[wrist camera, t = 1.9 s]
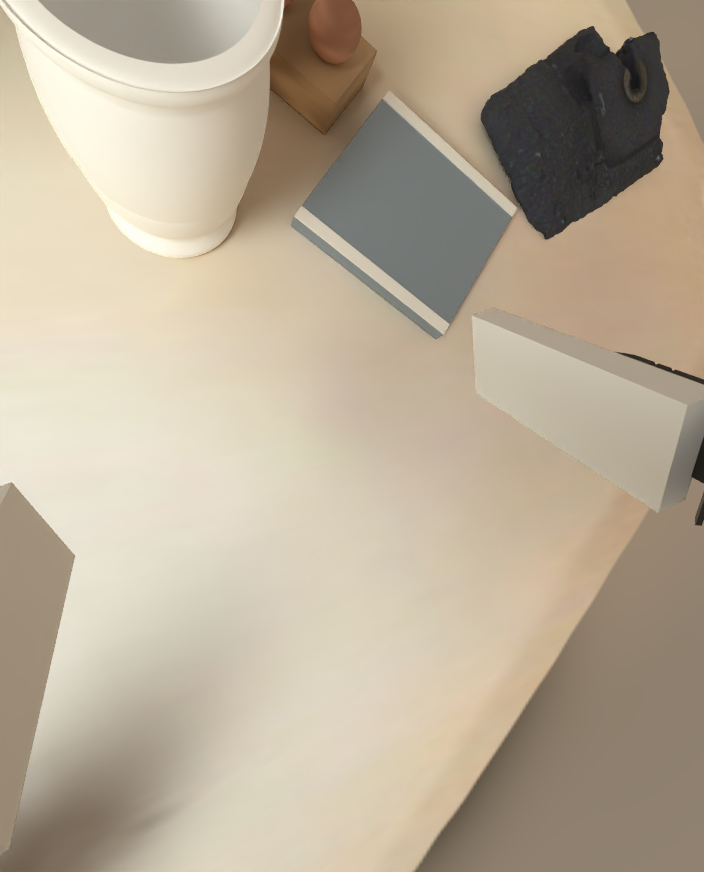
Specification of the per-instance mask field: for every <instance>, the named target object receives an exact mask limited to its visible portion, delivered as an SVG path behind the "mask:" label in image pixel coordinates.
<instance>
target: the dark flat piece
mask: <svg viewBox="0 0 704 872" xmlns="http://www.w3.org/2000/svg"><path fill="white" fill-rule="evenodd" d="M659 47H660V44H659V40H658V38H657V36H656V34H655V33H654V32H650V33H647V34H645V35H643V36H639V37H637V38H632V37H630V39H627V40H626V41H625V42H624V44H623V46H622V48H621V49H620V50H618V51H617V53H616V54H615V53H613V52H610V51H609V50H610V48H609V47H608V46H606V45H605V44H604V42H603V39H602V38H601V37H600V35H599V34H598V33H597V32H596V30H595V28H594V26H591V27H589V28H587V29H583V30H581V31H579V32H578V33H577V35H575V36H573V38H571V39H569V40H567V41H566V42H565V43H564V44H563V45H561V46H560V47H559V48H558V49H557V50H555V51H554V52H553V53H552V54H551V55H549V56H548V57H547V59H545V60H543V61H542V60H539V61H538V63H537V64H534V65H532V66H530V67H529V68H527V69H526V71H525V72H524V73H523V74H522V75H521V76H519V77H518V78H517V79H516V80H515V81H514V82H512V83H510V84H509V85H508V86H507V87H506V88H505V89H503V90H501V91H499V92H497V93H495V94H493V95H492V96H491V97H490V99H489V100H487V102H486V104H485V106H484V108H483V110H482V113H481V121H482V123H483V124H484V126H485V128H486V130H487V132H488V135H489V137H490V139H491V141H492V144H493V147H494V149H495V151H496V153H497V154H498V156H499V160H500V161H501V163H502V166H503V167H504V169H505V171H506V172H507V174H508V175H509V178H510V180H511V184H512V190H513V192H514V194H515V196H516V198H517V200H518V201H519V202H520V205H521V207H522V209H523V210H524V212H525V214H526V217H527V219H528V221H529V222H530V223H531V224H533V226H534V227H535V229H536V230H537V231H539V232H541V233H543V234H544V237H545V239H549V238H551V237H553V236H554V235H556V234H558V233H560V232H562V231H563V230H564V229H565V228H566V227H567V226H568V225H569V224H570V223H572V222H576V221H578V220H579V219H580V218H583V217H585V216H586V215H587V214H588V213H590V212H593V211H594V210H596V209H597V208H599V207H601V206H603V204H605V203H607V202H608V201H609V200H610V199H612V197H613V196H617V195H618V194H619V193H620V192H622V191H624V190H625V189H626V188H627V187H628V186H630V185H632V184H633V183H634V182H636V181H637V180H638V179H640V178H642V177H643V176H644V175H646V174H648V173H650V172H651V171H652V170H653V169H654V168H656V167H658V166H659V164H660V163H661V161H662V160H663V155H662V154H661V152H662V147H663V142H662V141H661V139H660V137H659V136H660V127H661V120H662V115H663V114H664V112H665V111H666V104H667V99H668V95H669V86H668V81H667V79H666V74H665V72H664V70H663V64H662V62H661V55H660V49H659Z"/></svg>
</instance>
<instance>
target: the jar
mask: <svg viewBox="0 0 704 872" xmlns="http://www.w3.org/2000/svg"><path fill="white" fill-rule="evenodd" d="M0 5H1V7H2V8H3V10H4V11H5V12H6V14H7V15H8V17H9V18H10V19H11V21H12V22H13V23H14V24H15V28H16V32H17V36H18V40H19V43H20V47H21V50H22V54H23V57H24V60H25V63H26V67H27V70H28V72H29V75H30V78H31V81H32V83H33V86H34V89H35V91H36V94H37V96H38V98H39V101H40V103H41V105H42V107H43V109H44V112H45V114H46V116H47V118H48V120H49V122H50V123H51V125H52V127H53V129H54V131H55V133H56V134H57V136H58V138H59V139H60V141H61V143H62V144H63V146H64V147H65V149H66V150H67V152H68V153H69V155H70V156H71V158H72V159H73V160H74V162H75V163H76V164H77V166H78V167H79V168H80V169H81V171H82V172H83V174H84V176H85V177H86V179H87V180H88V182H89V183H90V185H91V186H92V187H93V189H94V190H95V191H96V193H97V194H98V195H99V196H100V198H101V199H102V200H103V201H104V202H105V204H106V207H107V210H108V212H109V214H110V216H111V218H112V220H113V221H114V223H115V224H116V225H117V227H118V228H119V229H120V230H121V232H122V233H123V234H124V235H125V236H126V237H128V238H129V239H130V240H131V241H132V242H134V243H135V244H137V245H138V246H140V247H142V248H143V249H145V250H147V251H150V252H152V253H155V254H158V255H161V256H166V257H172V258H189V257H195V256H199V255H202V254H204V253H207V252H209V251H211V250H212V249H214V248H215V247H217V246H218V245H219V244H220V243H222V242H223V241H224V239H225V238H226V237H227V236H228V234H229V233H230V231H231V229H232V227H233V224H234V222H235V218H236V212H237V206H238V204H239V202H240V200H241V199H242V196H243V194H244V192H245V190H246V187H247V184H248V182H249V179H250V177H251V175H252V173H253V170H254V168H255V165H256V163H257V160H258V157H259V154H260V151H261V147H262V143H263V139H264V135H265V130H266V124H267V117H268V108H269V94H270V58H271V56H272V54H273V52H274V50H275V48H276V45H277V42H278V39H279V35H280V31H281V26H282V19H283V9H284V0H0Z"/></svg>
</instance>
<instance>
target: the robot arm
mask: <svg viewBox="0 0 704 872" xmlns="http://www.w3.org/2000/svg"><path fill="white" fill-rule="evenodd" d="M472 329H473V349H474V369H475V388H476V394H477V395H479V396H480V397H482V398H483V399H485V400H486V401H488V402H490V403H491V404H493V405H494V406H496V407H497V408H499V409H500V410H502V411H503V412H505V413H506V414H508V415H509V416H511V417H512V418H514V419H515V420H517V421H518V422H520V423H522V424H523V425H525V426H526V427H528V428H529V429H531V430H532V431H534V432H535V433H537V434H538V435H540V436H541V437H543V438H544V439H546V440H547V441H549V442H550V443H552V444H553V445H555V446H557V447H558V448H560V449H561V450H563V451H564V452H566V453H567V454H569V455H570V456H572V457H573V458H575V459H576V460H578V461H579V462H581V463H582V464H584V465H585V466H587V467H589V468H590V469H592V470H593V471H595V472H596V473H598V474H599V475H601V476H602V477H604V478H605V479H607V480H608V481H610V482H611V483H613V484H614V485H616V486H617V487H619V488H620V489H622V490H624V491H625V492H627V493H628V494H630V495H631V496H633V497H634V498H636V499H637V500H639V501H640V502H642V503H643V504H645V505H646V506H648V507H649V508H651V509H653V510H654V511H655V512H657V513H660V512H662V511H664V510H666V509H667V508H669V507H671V506H673V505H675V504H677V503H679V502H681V501H683V500H685V498H686V495H687V492H688V489H689V486H690V482H691V479H692V477H693V478H695V479H696V480H699V481H700V482H702V483H704V380H703V379H700V378H698V377H695V376H692V375H689V374H686V373H684V372H681V371H678V370H674V371H673V370H672V369H671V368H670V367H667V366H664V365H661V364H657V365H656V364H655V362H653V361H650V360H647V359H644V358H642V357H639V356H636V355H632V354H625V353H619V352H613V351H610V350H607V349H605V348H602V347H599V346H597V345H594V344H591V343H588V342H586V341H583V340H580V339H577V338H575V337H572V336H569V335H567V334H564V333H561V332H558V331H556V330H553V329H550V328H547V327H545V326H542V325H539V324H537V323H534V322H531V321H528V320H526V319H523V318H520V317H517V316H515V315H512V314H509V313H506V312H504V311H501V310H498V309H496V308H491V309H488V310H485V311H483V312H480V313H477V314H474V315H472ZM703 520H704V493H703V496H702V499H701V502H700V505H699V508H698V510H697V513H696V516H695V525H701V526H702V523H703ZM74 558H75V555H74V554H73V553H72V552H71V551H70V549H69V548H68V547H67V546H66V545H65V544H64V542H63V541H62V540H61V539H60V538H59V537H58V535H57V534H56V533H55V532H54V531H53V530H52V528H51V527H50V526H49V525H48V524H47V523H46V522H45V520H44V519H43V518H42V517H41V516H40V515H39V513H38V512H37V511H36V510H35V509H34V508H33V506H32V505H31V504H30V503H29V502H28V501H27V499H26V498H25V497H24V496H23V495H22V494H21V493H20V491H19V490H18V489H17V488H16V487H15V486H14V484H13V483H12V482H11V483H8V484H6V485H3V486H0V854H2V853H4V852H6V851H8V850H9V847H10V843H11V838H12V834H13V829H14V825H15V821H16V816H17V812H18V807H19V803H20V798H21V794H22V789H23V785H24V781H25V776H26V772H27V767H28V763H29V758H30V754H31V749H32V745H33V740H34V736H35V732H36V727H37V723H38V718H39V714H40V709H41V705H42V700H43V696H44V691H45V687H46V683H47V678H48V674H49V669H50V665H51V660H52V656H53V651H54V647H55V643H56V638H57V634H58V629H59V625H60V620H61V616H62V611H63V607H64V602H65V598H66V594H67V589H68V585H69V580H70V576H71V571H72V567H73V562H74Z"/></svg>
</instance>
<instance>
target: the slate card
mask: <svg viewBox="0 0 704 872" xmlns="http://www.w3.org/2000/svg"><path fill="white" fill-rule="evenodd" d="M516 210H517V207H516V206H515V205H514V204H513V203H512V202H510V201H509V200H508V199H507V198H506V197H505V196H504V195H503V194H502V193H501V192H500V191H498V190H497V189H496V188H495V187H494V186H493V185H492V184H491V183H490V182H489V181H488V180H487V179H485V178H484V177H483V176H482V175H481V174H480V173H479V172H478V171H477V170H476V169H475V168H473V167H472V166H471V165H470V164H469V163H468V162H467V161H466V160H465V159H464V158H463V157H462V156H460V155H459V154H458V153H457V152H456V151H455V150H454V149H453V148H452V147H451V146H450V145H448V144H447V143H446V142H445V141H444V140H443V139H442V138H441V137H440V136H439V135H438V134H437V133H435V132H434V131H433V130H432V129H431V128H430V127H429V126H428V125H427V124H426V123H425V122H423V121H422V120H421V119H420V118H419V117H418V116H417V115H416V114H415V113H414V112H413V111H412V110H410V109H409V108H408V107H407V106H406V105H405V104H404V103H403V102H402V101H401V100H400V99H398V98H397V97H396V96H395V95H394V94H393V93H392V92H391V91H390V90H389V91H388V92H387V94H386V95H385V96H384V98H383V99H382V101H381V102H380V103H379V105H378V106H377V107H376V109H375V110H374V111H373V112H372V114H371V115H370V116H369V118H368V119H367V120H366V122H365V123H364V124H363V126H362V127H361V128H360V130H359V131H358V132H357V134H356V135H355V136H354V138H353V139H352V140H351V142H350V143H349V144H348V146H347V147H346V148H345V149H344V151H343V152H342V153H341V155H340V156H339V157H338V159H337V160H336V161H335V163H334V164H333V165H332V167H331V168H330V169H329V171H328V172H327V173H326V175H325V176H324V177H323V179H322V180H321V181H320V183H319V184H318V185H317V187H316V188H315V189H314V190H313V192H312V193H311V194H310V196H309V197H308V198H307V200H306V201H305V202H304V204H303V205H302V206H301V207H300V209H299V210H298V211H297V213H296V214H295V215H294V218H293V221H292V224H291V226H292V227H293V228H295V229H296V230H297V231H299V232H300V233H301V234H302V235H304V236H305V237H306V238H307V239H309V240H310V241H311V242H313V243H314V244H315V245H316V246H318V247H319V248H320V249H321V250H323V251H324V252H325V253H327V254H328V255H329V256H330V257H332V258H333V259H334V260H335V261H337V262H338V263H339V264H341V265H342V266H343V267H344V268H346V269H347V270H348V271H350V272H351V273H352V274H353V275H355V276H356V277H357V278H358V279H360V280H361V281H362V282H364V283H365V284H366V285H367V286H369V287H370V288H371V289H372V290H374V291H375V292H376V293H378V294H379V295H380V296H381V297H383V298H384V299H385V300H386V301H388V302H389V303H390V304H392V305H393V306H394V307H395V308H397V309H398V310H399V311H400V312H402V313H403V314H404V315H406V316H407V317H408V318H409V319H411V320H412V321H413V322H414V323H416V324H417V325H418V326H420V327H421V328H422V329H423V330H425V331H426V332H427V333H429V334H430V335H431V336H432V337H434V338H435V339H437V338H439V337H440V336H442V335H444V334H445V332H446V330H447V328H448V327H449V325H450V322H451V321H452V319H453V317H454V316H455V314H456V312H457V310H458V309H459V307H460V305H461V304H462V302H463V300H464V299H465V297H466V295H467V293H468V292H469V290H470V288H471V287H472V285H473V283H474V281H475V280H476V278H477V276H478V275H479V273H480V271H481V269H482V268H483V266H484V264H485V263H486V261H487V259H488V257H489V256H490V254H491V252H492V251H493V249H494V247H495V245H496V244H497V242H498V240H499V239H500V237H501V235H502V233H503V232H504V230H505V228H506V227H507V225H508V223H509V221H510V220H511V218H512V217H513V215H514V213H515V212H516Z"/></svg>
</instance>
